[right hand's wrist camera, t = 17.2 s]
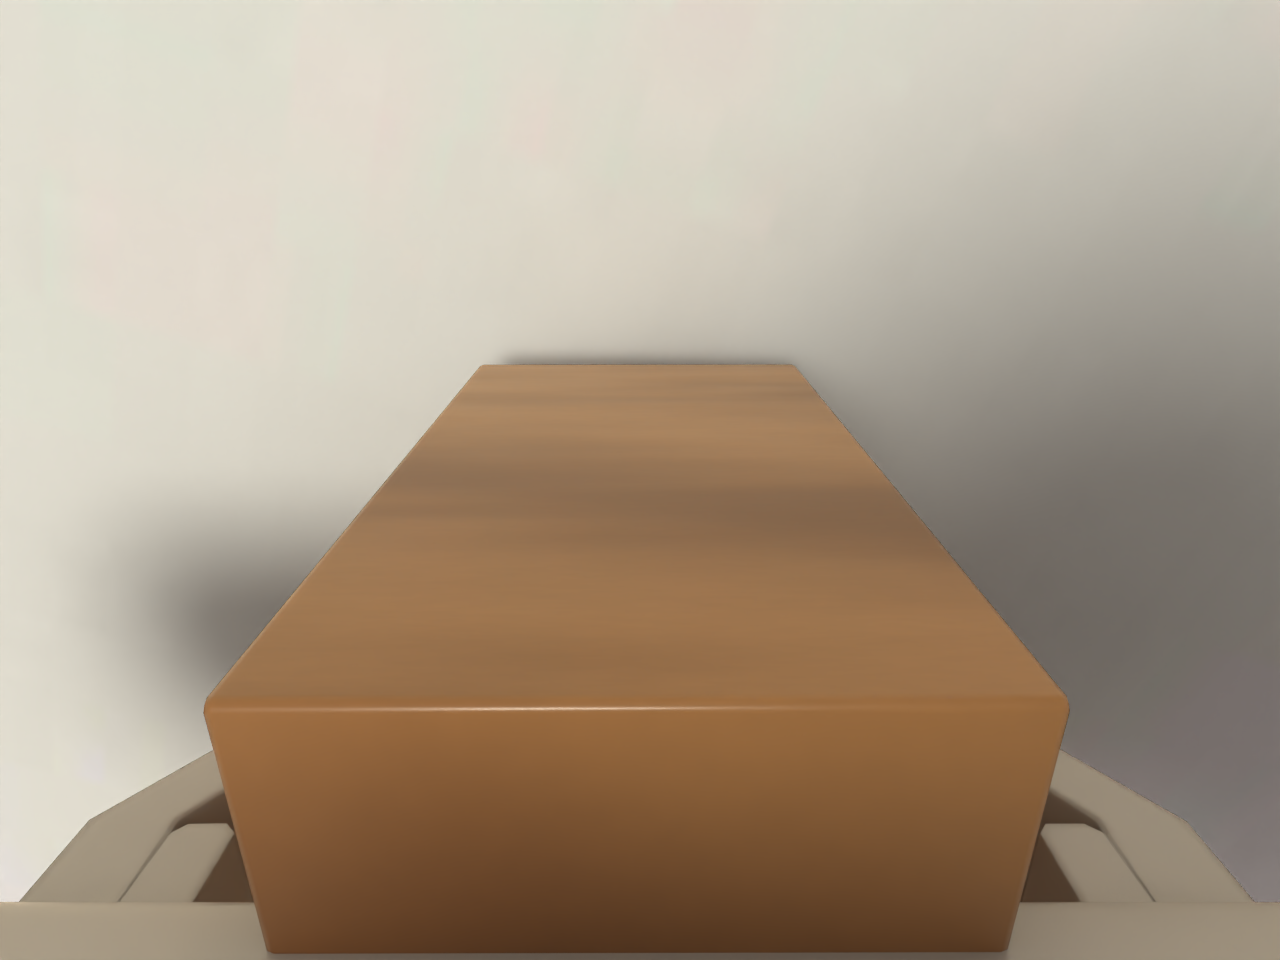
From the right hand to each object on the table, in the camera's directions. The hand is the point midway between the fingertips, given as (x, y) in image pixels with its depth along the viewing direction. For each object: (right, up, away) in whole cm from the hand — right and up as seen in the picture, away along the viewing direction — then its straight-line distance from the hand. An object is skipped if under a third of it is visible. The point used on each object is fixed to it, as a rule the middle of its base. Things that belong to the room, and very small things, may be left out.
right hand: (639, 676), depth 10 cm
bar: (0, -8, +6) cm, 10 cm away
